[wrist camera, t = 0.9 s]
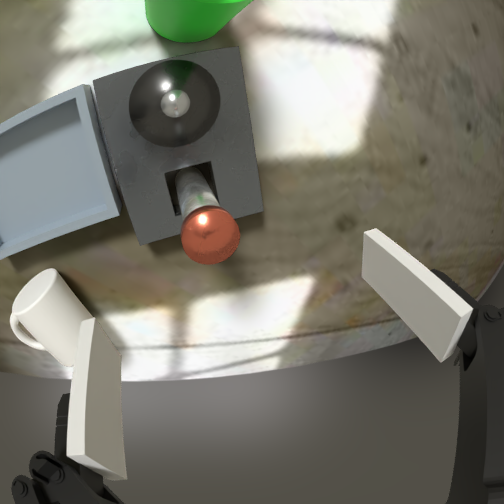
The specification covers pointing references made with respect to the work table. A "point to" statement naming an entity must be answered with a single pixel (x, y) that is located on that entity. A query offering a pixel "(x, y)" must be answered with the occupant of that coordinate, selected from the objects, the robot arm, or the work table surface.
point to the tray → (53, 172)
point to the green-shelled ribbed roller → (191, 17)
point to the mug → (49, 316)
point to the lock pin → (204, 220)
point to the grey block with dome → (179, 135)
